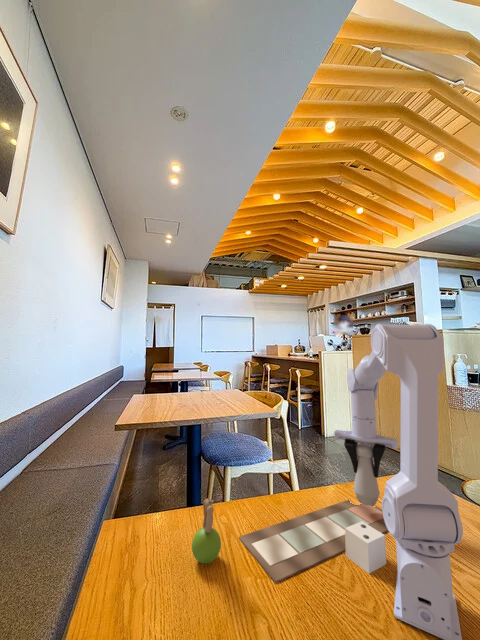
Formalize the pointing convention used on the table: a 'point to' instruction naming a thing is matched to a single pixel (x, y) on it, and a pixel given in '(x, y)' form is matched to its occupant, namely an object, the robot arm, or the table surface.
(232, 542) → the table surface
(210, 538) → the green ball handle toy
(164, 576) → the table surface
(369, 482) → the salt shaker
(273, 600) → the table surface
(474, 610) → the table surface
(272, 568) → the game board
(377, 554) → the die
